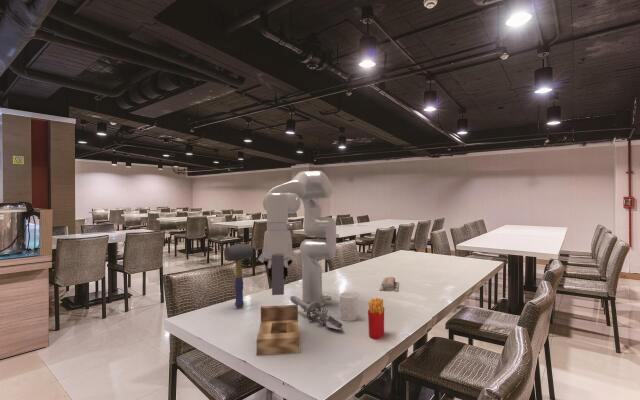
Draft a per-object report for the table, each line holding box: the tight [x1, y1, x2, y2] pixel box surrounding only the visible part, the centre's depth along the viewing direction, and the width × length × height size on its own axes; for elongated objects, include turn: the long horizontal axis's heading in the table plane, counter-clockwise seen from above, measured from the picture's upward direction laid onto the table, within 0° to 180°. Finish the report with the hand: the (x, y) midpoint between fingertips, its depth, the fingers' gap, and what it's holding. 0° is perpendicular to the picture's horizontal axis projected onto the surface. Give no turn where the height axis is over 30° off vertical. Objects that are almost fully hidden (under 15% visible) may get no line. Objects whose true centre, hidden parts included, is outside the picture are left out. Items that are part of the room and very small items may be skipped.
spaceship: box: [289, 295, 345, 331], centre depth 132 cm, size 8×35×8 cm
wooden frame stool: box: [256, 304, 301, 356], centre depth 112 cm, size 14×18×10 cm
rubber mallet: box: [223, 243, 254, 309], centre depth 150 cm, size 12×8×30 cm, turn 132°
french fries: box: [367, 297, 385, 340], centre depth 117 cm, size 9×4×13 cm, turn 145°
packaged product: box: [379, 276, 400, 293], centre depth 182 cm, size 18×5×10 cm
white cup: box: [338, 291, 359, 322], centre depth 134 cm, size 8×8×10 cm
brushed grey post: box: [271, 256, 285, 296], centre depth 112 cm, size 4×8×13 cm, turn 6°
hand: (278, 278), depth 112 cm, fingers closed on brushed grey post, 4 cm apart
